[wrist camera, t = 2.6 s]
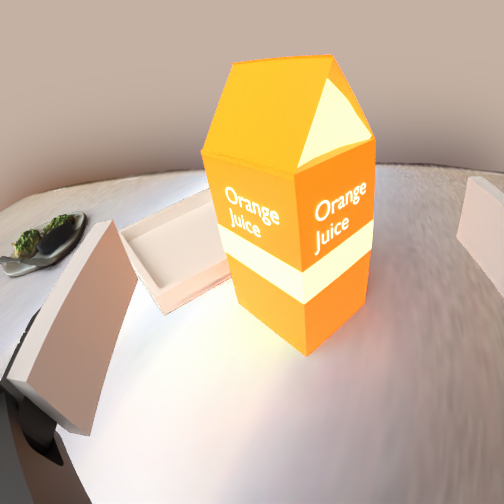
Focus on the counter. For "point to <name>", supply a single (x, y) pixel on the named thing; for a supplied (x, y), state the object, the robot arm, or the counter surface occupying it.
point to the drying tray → (178, 251)
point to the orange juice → (293, 194)
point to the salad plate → (45, 244)
